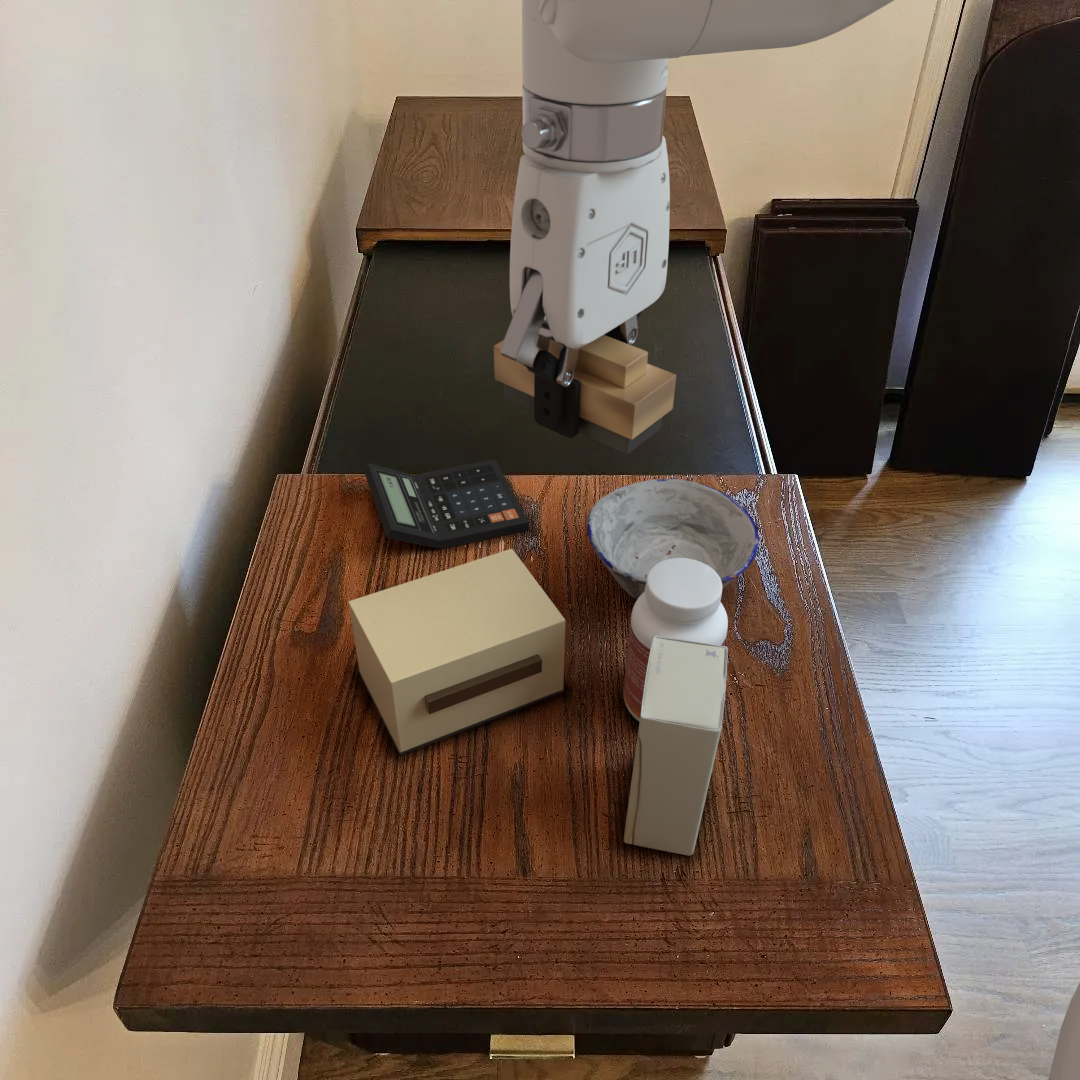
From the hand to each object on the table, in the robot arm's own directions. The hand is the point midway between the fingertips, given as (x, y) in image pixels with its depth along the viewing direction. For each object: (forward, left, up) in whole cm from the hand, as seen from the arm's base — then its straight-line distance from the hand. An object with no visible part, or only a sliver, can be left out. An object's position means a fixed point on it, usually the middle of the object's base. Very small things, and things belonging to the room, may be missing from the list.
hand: (581, 409), depth 65 cm
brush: (0, 0, 0) cm, 0 cm away
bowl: (-1, -8, -17) cm, 19 cm away
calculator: (+15, +4, -17) cm, 23 cm away
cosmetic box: (-19, +4, -17) cm, 26 cm away
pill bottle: (-11, -1, -17) cm, 21 cm away
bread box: (-4, +11, -17) cm, 21 cm away
